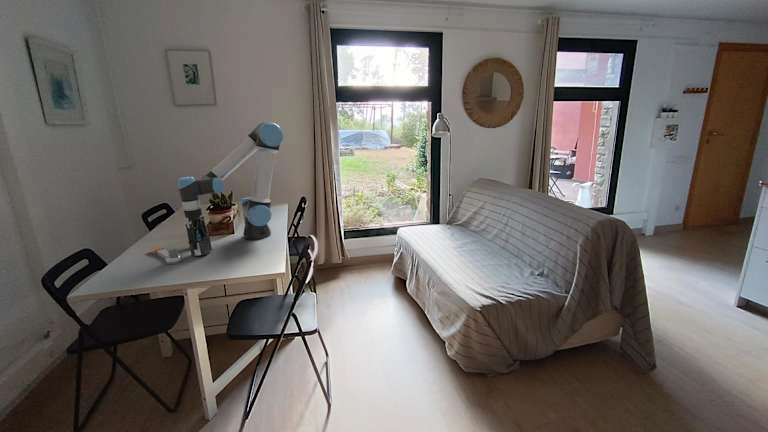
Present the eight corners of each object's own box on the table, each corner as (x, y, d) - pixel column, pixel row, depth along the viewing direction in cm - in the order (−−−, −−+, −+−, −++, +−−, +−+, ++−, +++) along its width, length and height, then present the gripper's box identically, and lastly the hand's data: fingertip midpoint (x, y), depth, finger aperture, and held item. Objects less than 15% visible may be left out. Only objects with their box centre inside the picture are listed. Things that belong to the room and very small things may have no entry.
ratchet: (147, 252, 179) (144, 241, 177) (162, 248, 184) (159, 237, 182) (169, 265, 162) (166, 252, 160) (185, 260, 167) (182, 248, 165)
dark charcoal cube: (212, 249, 178) (209, 236, 175) (205, 254, 171) (202, 240, 169) (198, 250, 178) (195, 236, 175) (191, 255, 171) (188, 241, 169)
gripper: (194, 204, 177) (204, 245, 184) (173, 214, 158) (184, 260, 165) (209, 203, 177) (218, 244, 184) (189, 213, 158) (199, 259, 165)
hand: (202, 251), depth 174 cm, fingers closed on dark charcoal cube, 7 cm apart
